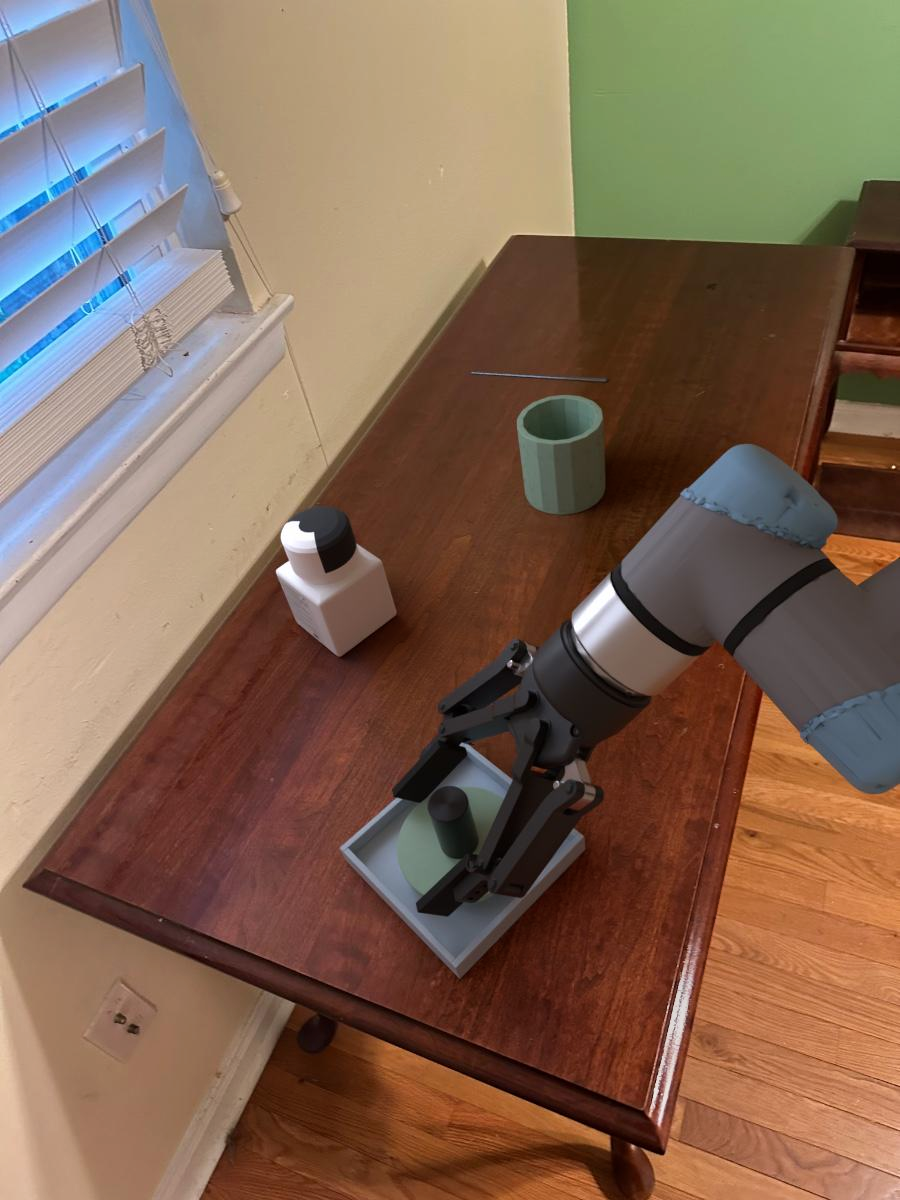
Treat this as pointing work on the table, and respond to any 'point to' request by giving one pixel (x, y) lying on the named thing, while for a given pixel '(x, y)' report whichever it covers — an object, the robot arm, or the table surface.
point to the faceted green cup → (562, 454)
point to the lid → (445, 834)
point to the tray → (468, 925)
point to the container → (333, 580)
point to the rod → (540, 376)
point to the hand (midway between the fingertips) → (418, 850)
